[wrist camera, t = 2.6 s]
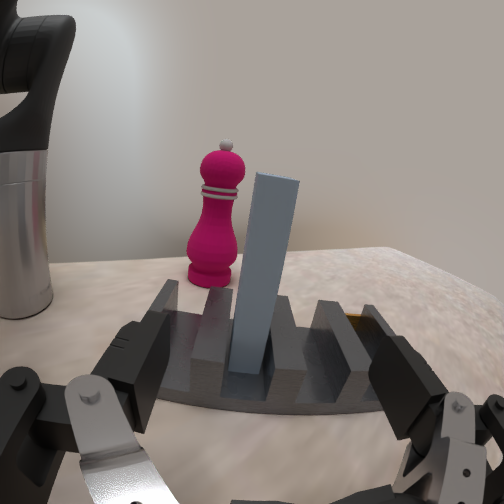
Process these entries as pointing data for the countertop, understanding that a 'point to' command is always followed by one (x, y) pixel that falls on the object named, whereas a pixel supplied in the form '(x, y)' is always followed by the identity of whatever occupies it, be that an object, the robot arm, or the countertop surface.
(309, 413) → the rack
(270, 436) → the countertop surface
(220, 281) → the pepper mill
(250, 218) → the panel
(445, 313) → the countertop surface
